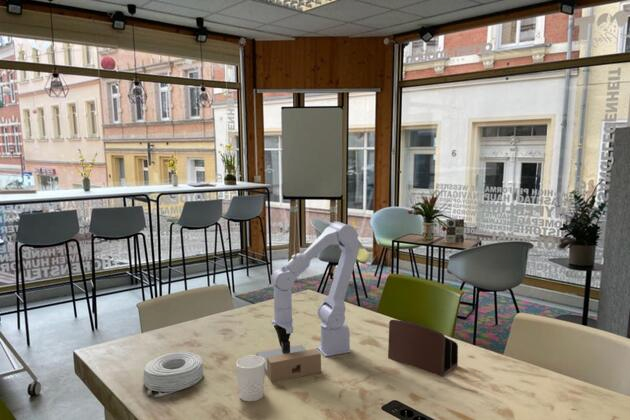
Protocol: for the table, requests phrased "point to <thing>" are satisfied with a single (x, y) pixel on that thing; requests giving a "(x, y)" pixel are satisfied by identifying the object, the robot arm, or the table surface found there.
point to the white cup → (251, 377)
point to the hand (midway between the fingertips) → (283, 346)
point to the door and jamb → (291, 362)
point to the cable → (172, 372)
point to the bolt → (286, 349)
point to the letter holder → (422, 347)
